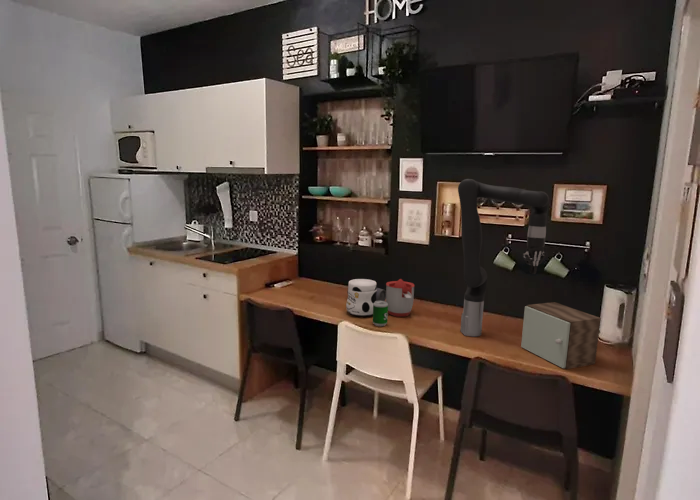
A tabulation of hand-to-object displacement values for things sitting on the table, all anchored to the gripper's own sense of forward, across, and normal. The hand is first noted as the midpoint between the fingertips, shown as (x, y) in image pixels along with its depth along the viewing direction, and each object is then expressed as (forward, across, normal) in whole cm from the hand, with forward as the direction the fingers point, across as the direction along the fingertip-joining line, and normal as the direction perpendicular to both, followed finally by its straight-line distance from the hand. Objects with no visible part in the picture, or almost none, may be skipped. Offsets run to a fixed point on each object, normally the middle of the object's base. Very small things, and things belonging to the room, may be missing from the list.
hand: (532, 273), depth 201 cm
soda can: (+33, +56, -43) cm, 78 cm away
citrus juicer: (+33, +38, -55) cm, 75 cm away
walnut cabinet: (+33, -2, +17) cm, 37 cm away
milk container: (+33, +58, -62) cm, 91 cm away
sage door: (+32, +8, +17) cm, 38 cm away
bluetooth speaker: (+33, +46, -83) cm, 100 cm away
